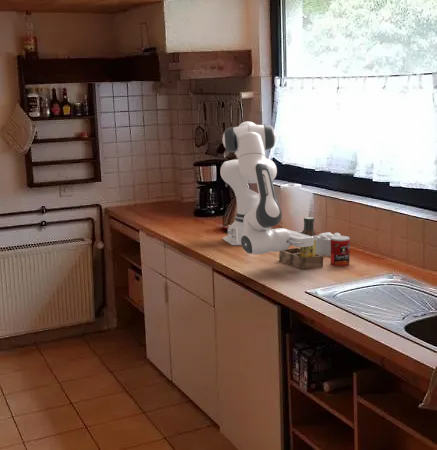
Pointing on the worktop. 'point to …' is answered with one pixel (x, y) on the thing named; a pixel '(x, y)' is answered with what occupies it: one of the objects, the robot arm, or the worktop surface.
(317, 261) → the box
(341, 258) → the canned food
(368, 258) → the worktop surface
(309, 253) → the sauce bottle
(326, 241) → the lumpy-topped squat cylinder
